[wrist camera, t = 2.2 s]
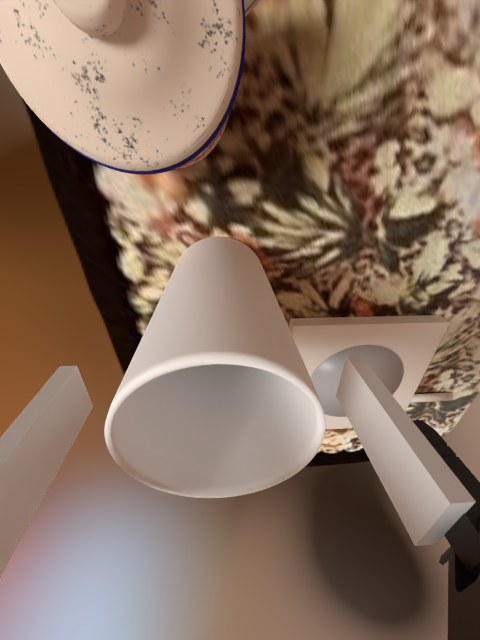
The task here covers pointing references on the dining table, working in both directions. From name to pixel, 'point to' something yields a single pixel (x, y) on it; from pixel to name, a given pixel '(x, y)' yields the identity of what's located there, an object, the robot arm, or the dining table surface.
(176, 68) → the teacup with lid
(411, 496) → the robot arm
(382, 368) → the pad
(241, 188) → the dining table surface
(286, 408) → the cup
